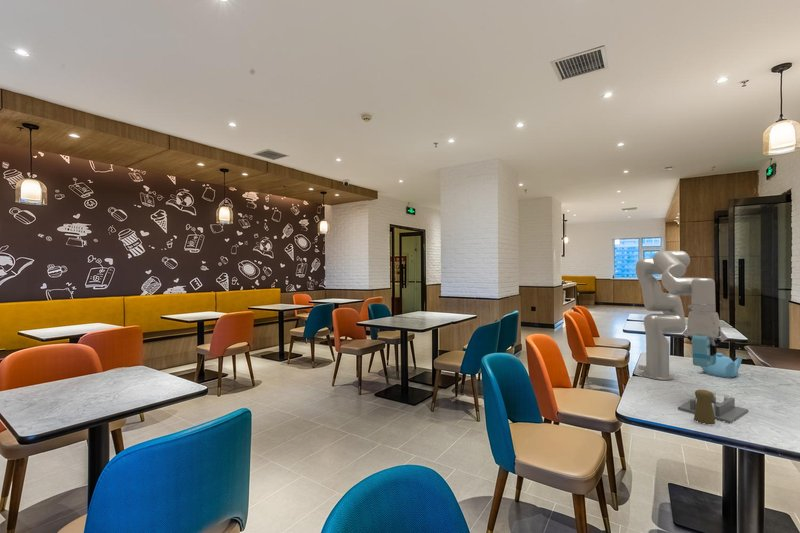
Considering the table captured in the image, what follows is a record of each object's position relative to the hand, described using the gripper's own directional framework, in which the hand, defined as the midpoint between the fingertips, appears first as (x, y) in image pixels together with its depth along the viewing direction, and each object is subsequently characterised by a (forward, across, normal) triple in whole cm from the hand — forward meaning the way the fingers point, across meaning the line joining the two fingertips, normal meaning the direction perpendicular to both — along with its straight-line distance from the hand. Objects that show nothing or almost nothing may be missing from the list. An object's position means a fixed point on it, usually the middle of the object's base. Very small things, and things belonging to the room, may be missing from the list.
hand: (704, 353), depth 152 cm
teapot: (+19, -12, +58) cm, 62 cm away
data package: (+5, 0, 0) cm, 5 cm away
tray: (+20, +4, -6) cm, 22 cm away
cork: (+21, +6, -20) cm, 30 cm away
